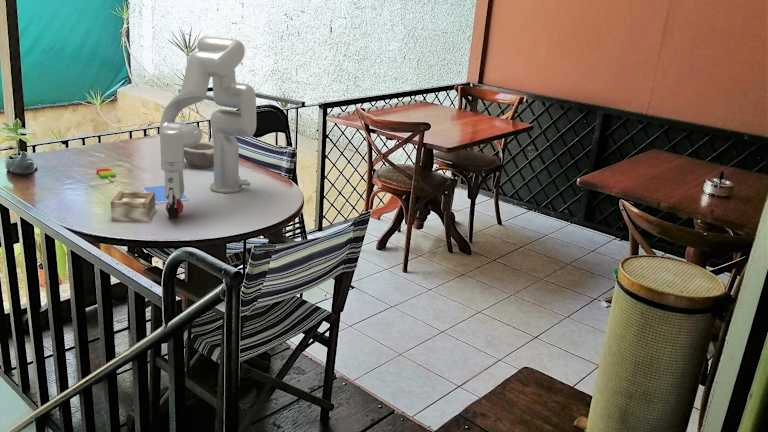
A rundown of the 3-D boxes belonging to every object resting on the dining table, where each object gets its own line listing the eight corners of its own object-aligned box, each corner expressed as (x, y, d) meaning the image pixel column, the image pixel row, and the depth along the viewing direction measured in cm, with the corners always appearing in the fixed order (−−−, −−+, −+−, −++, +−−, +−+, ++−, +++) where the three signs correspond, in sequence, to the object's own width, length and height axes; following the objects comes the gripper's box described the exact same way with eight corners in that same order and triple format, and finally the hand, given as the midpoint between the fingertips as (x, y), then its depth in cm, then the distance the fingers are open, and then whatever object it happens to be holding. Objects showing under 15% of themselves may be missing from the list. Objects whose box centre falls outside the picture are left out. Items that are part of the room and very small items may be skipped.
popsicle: (110, 172, 283) (109, 168, 283) (119, 182, 272) (119, 178, 271) (95, 173, 280) (95, 169, 280) (105, 184, 269) (105, 179, 268)
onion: (178, 221, 235) (177, 199, 232) (163, 219, 236) (162, 197, 233) (186, 216, 241) (185, 194, 238) (171, 214, 242) (170, 192, 239)
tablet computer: (141, 190, 265) (141, 187, 264) (173, 186, 272) (173, 183, 271) (156, 206, 250) (155, 202, 250) (189, 201, 257) (189, 198, 256)
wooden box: (155, 210, 245) (154, 192, 242) (148, 222, 233) (147, 203, 231) (120, 209, 243) (119, 190, 241) (111, 221, 232) (110, 202, 230)
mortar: (212, 173, 291) (212, 152, 288) (174, 168, 293) (174, 147, 290) (226, 163, 307) (226, 143, 304) (190, 158, 308) (189, 139, 305)
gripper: (180, 172, 224) (182, 223, 230) (188, 158, 240) (189, 206, 246) (156, 171, 223) (158, 223, 229) (166, 157, 239) (168, 205, 245)
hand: (175, 214), depth 238 cm, fingers closed on onion, 5 cm apart
